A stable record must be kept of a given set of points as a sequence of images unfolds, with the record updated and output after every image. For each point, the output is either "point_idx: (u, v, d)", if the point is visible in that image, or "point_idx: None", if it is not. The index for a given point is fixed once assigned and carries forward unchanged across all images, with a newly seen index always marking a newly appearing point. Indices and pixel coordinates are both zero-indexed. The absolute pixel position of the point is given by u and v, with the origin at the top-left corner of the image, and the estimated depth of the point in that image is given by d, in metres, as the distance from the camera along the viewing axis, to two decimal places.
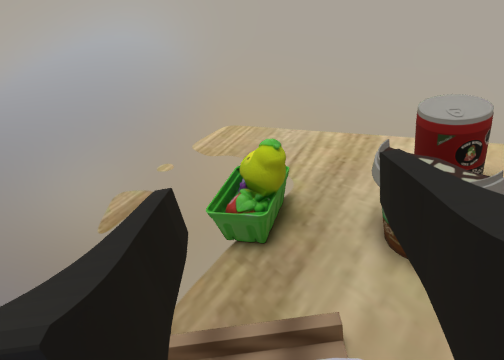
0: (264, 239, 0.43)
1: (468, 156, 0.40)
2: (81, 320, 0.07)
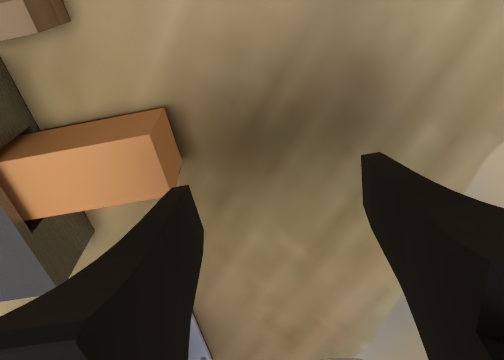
0: None
1: None
2: (112, 316, 0.07)
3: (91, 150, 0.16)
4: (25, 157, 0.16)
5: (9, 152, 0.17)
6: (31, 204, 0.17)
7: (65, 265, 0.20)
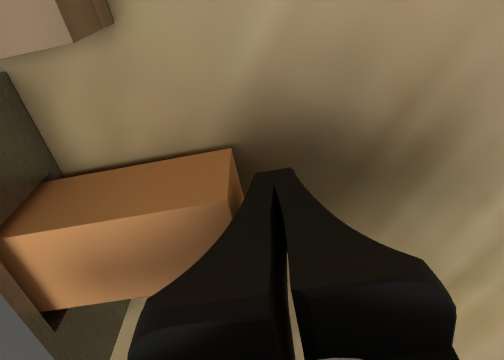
0: None
1: None
2: (272, 293, 0.06)
3: (136, 222, 0.10)
4: (34, 231, 0.11)
5: (10, 219, 0.11)
6: (43, 293, 0.12)
7: None
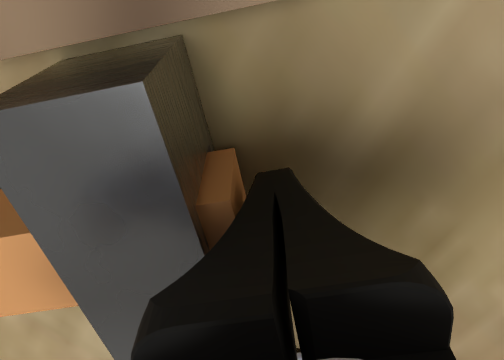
0: None
1: None
2: (275, 293, 0.06)
3: None
4: None
5: (13, 217, 0.11)
6: (45, 292, 0.12)
7: None
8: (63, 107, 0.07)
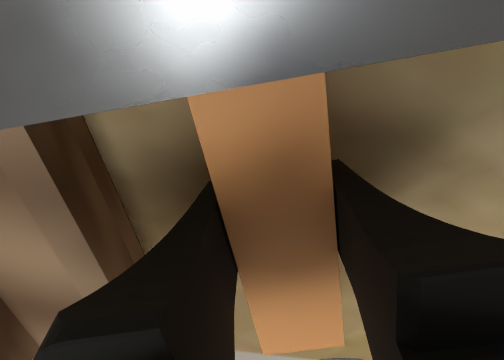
0: None
1: None
2: (182, 306, 0.06)
3: None
4: (195, 123, 0.09)
5: None
6: (297, 141, 0.09)
7: None
8: None
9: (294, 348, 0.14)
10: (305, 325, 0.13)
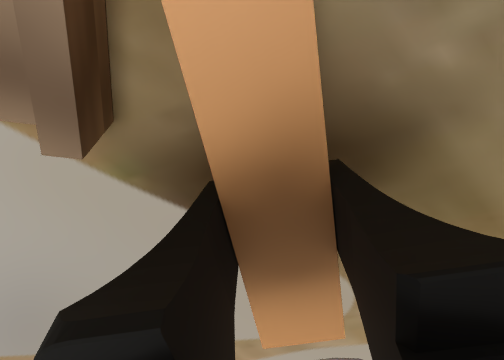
0: None
1: None
2: (182, 306, 0.06)
3: None
4: (190, 98, 0.09)
5: None
6: (291, 117, 0.09)
7: None
8: None
9: (294, 340, 0.14)
10: (304, 315, 0.13)
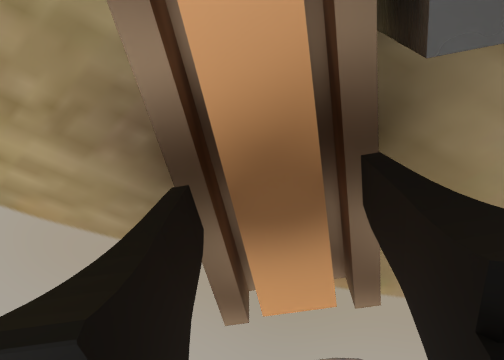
0: None
1: None
2: (112, 316, 0.07)
3: None
4: (201, 89, 0.11)
5: None
6: (287, 105, 0.11)
7: None
8: None
9: (290, 309, 0.16)
10: (300, 284, 0.15)
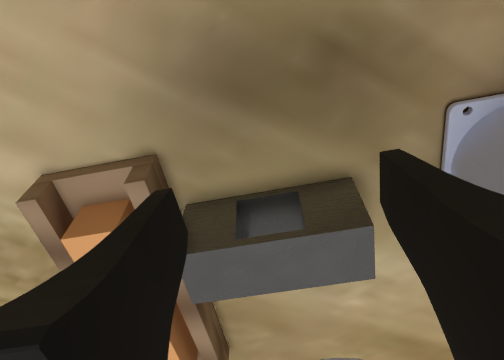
0: None
1: None
2: (81, 320, 0.07)
3: None
4: None
5: None
6: None
7: (355, 212, 0.20)
8: (185, 277, 0.21)
9: None
10: None
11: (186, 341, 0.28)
